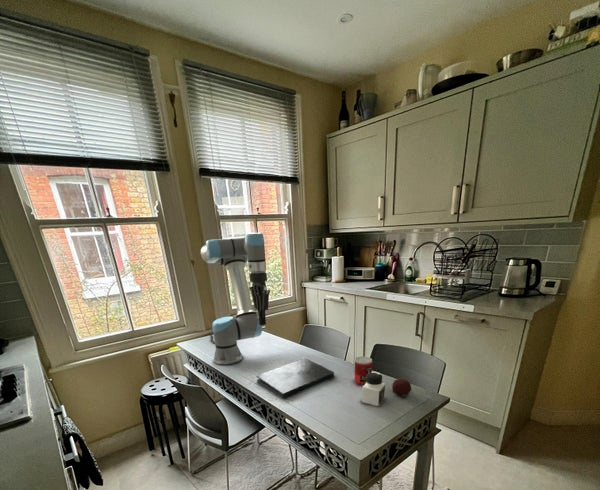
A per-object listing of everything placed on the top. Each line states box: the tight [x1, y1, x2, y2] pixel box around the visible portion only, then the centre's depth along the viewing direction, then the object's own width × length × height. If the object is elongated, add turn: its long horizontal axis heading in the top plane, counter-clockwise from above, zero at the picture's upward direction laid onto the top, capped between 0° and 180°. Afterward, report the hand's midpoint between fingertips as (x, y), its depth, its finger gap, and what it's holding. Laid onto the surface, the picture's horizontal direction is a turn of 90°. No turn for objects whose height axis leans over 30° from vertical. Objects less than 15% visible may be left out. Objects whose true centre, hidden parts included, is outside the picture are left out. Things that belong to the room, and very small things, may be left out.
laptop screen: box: [255, 357, 335, 395], centre depth 148 cm, size 21×30×1 cm
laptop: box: [256, 373, 335, 400], centre depth 149 cm, size 21×30×2 cm
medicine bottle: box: [361, 371, 386, 407], centre depth 126 cm, size 7×7×12 cm
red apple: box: [391, 378, 412, 397], centre depth 131 cm, size 7×8×7 cm
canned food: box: [353, 356, 373, 386], centre depth 142 cm, size 8×8×11 cm
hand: (262, 324), depth 146 cm, fingers closed
